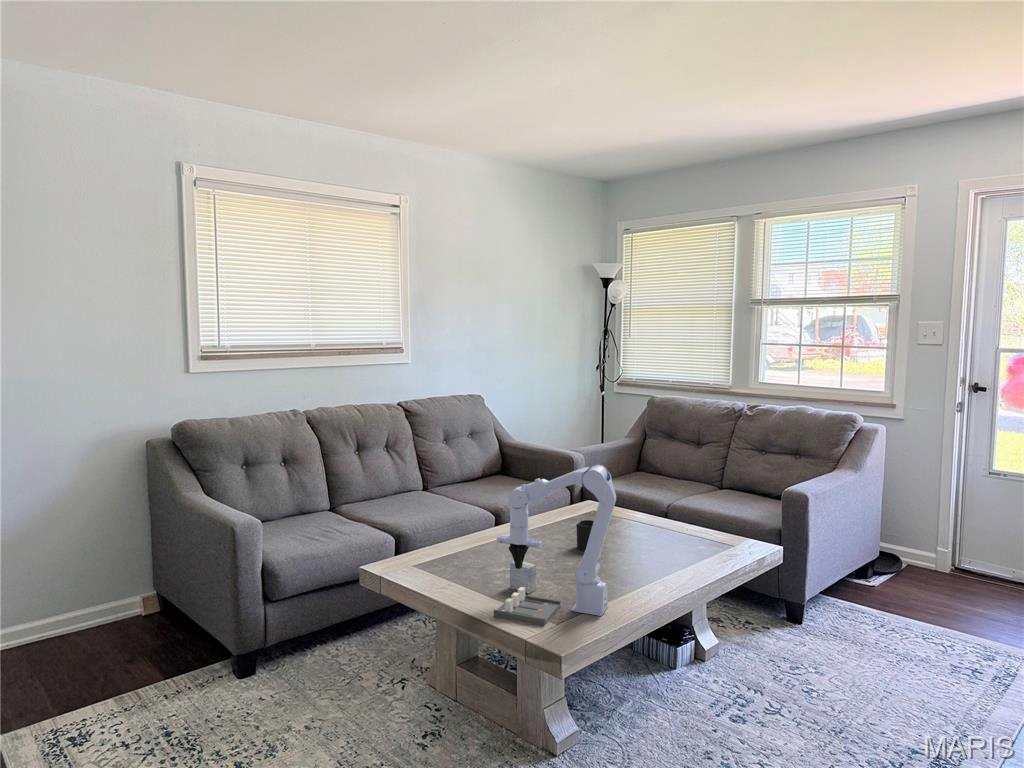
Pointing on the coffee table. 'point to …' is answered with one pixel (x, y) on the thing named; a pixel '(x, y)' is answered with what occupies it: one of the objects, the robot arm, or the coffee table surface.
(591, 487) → the robot arm
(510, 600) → the block
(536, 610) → the breaker panel
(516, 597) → the block
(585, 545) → the pen holder
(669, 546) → the coffee table surface
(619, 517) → the coffee table surface
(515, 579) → the medicine box
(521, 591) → the breaker
